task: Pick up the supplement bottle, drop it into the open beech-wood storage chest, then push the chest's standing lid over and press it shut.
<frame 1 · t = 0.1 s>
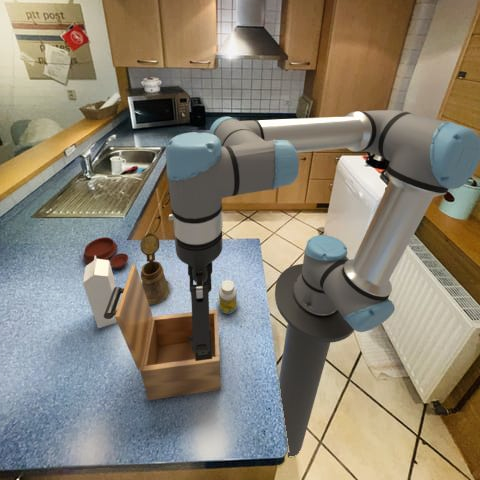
hand: (204, 318, 48), 28 cm above the worktop, tool pointing down, fingers open, 13 cm apart
supplement bottle: (227, 306, 80), on the worktop
chest lid: (127, 317, 55), point 21 cm above the worktop, hinge at 95.0°
chest: (186, 365, 65), on the worktop
pottery: (108, 259, 96), on the worktop
milk: (110, 316, 76), on the worktop
wooden mug: (155, 286, 86), on the worktop
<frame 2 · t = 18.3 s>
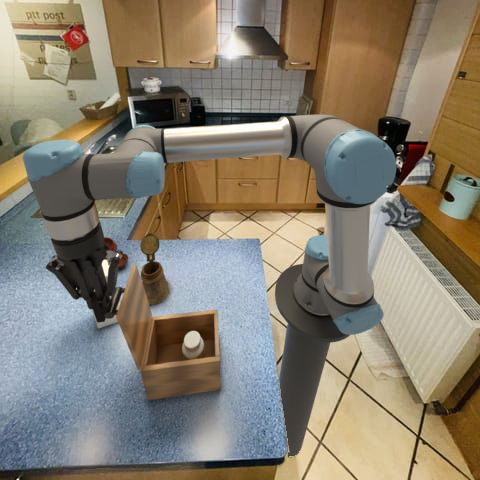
hand: (103, 315, 53), 23 cm above the worktop, tool pointing down, fingers closed
supplement bottle: (194, 362, 65), point 1 cm above the worktop, touching chest
chest lid: (127, 317, 55), point 21 cm above the worktop, hinge at 94.3°, touching gripper
everything else where it was.
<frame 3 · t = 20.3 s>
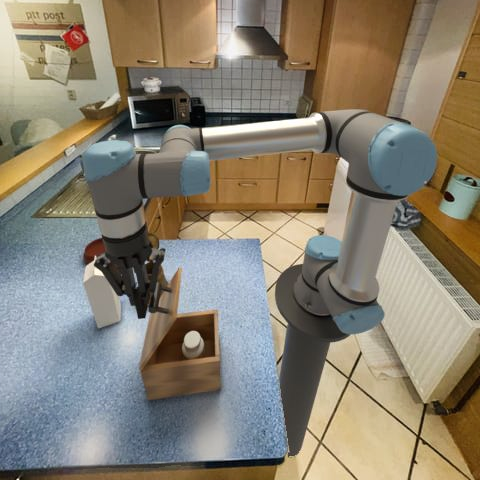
hand: (143, 312, 55), 22 cm above the worktop, tool pointing down, fingers closed
chest lid: (152, 314, 55), point 21 cm above the worktop, hinge at 61.1°, touching gripper
everything else where it was.
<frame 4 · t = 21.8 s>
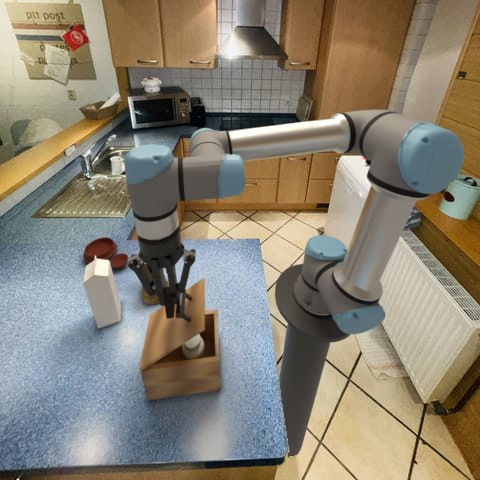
hand: (170, 312, 56), 21 cm above the worktop, tool pointing down, fingers closed
chest lid: (167, 317, 56), point 20 cm above the worktop, hinge at 38.9°, touching gripper
everything else where it was.
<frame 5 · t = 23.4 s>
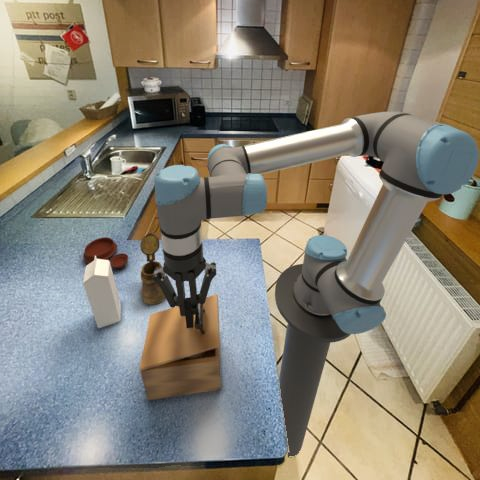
hand: (190, 321, 58), 17 cm above the worktop, tool pointing down, fingers closed
chest lid: (179, 324, 58), point 17 cm above the worktop, hinge at 16.5°
everything else where it was.
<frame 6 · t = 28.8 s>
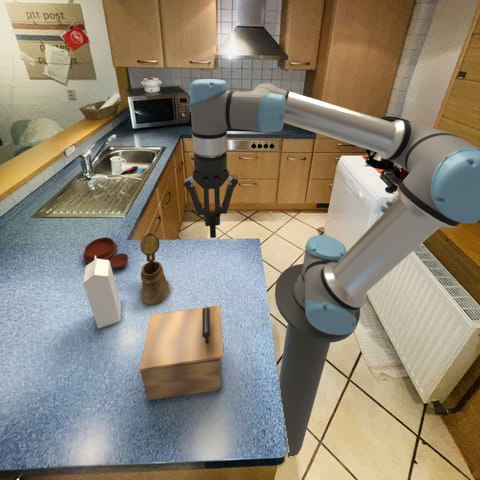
hand: (212, 234, 66), 30 cm above the worktop, tool pointing down, fingers closed
chest lid: (183, 329, 59), point 15 cm above the worktop, hinge at 2.2°
everything else where it was.
at the end: supplement bottle inside the target area in the chest (2.1 cm from its centre), point 0.8 cm above the chest's base; chest lid at +2° (first picture: +95°) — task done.
